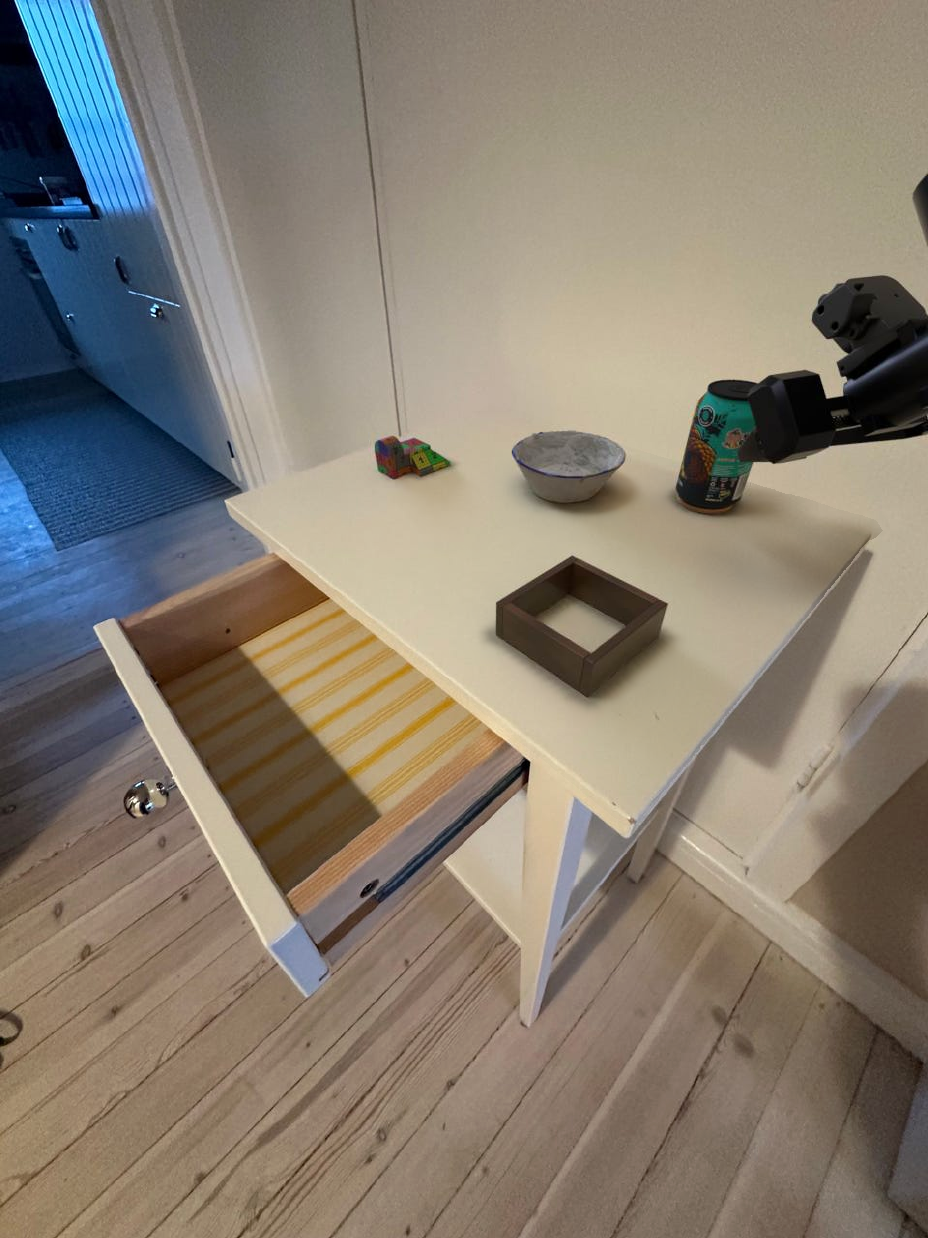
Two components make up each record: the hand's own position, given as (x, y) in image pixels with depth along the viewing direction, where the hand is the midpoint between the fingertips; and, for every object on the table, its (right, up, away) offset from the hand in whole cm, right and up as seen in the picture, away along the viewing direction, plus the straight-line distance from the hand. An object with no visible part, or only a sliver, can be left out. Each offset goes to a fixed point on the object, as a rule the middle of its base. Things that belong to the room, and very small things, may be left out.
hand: (780, 449), depth 49 cm
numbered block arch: (-36, +4, +20) cm, 42 cm away
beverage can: (-2, -2, +11) cm, 11 cm away
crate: (-20, -17, -6) cm, 27 cm away
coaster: (-2, -2, +11) cm, 12 cm away
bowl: (-18, 0, +15) cm, 23 cm away
